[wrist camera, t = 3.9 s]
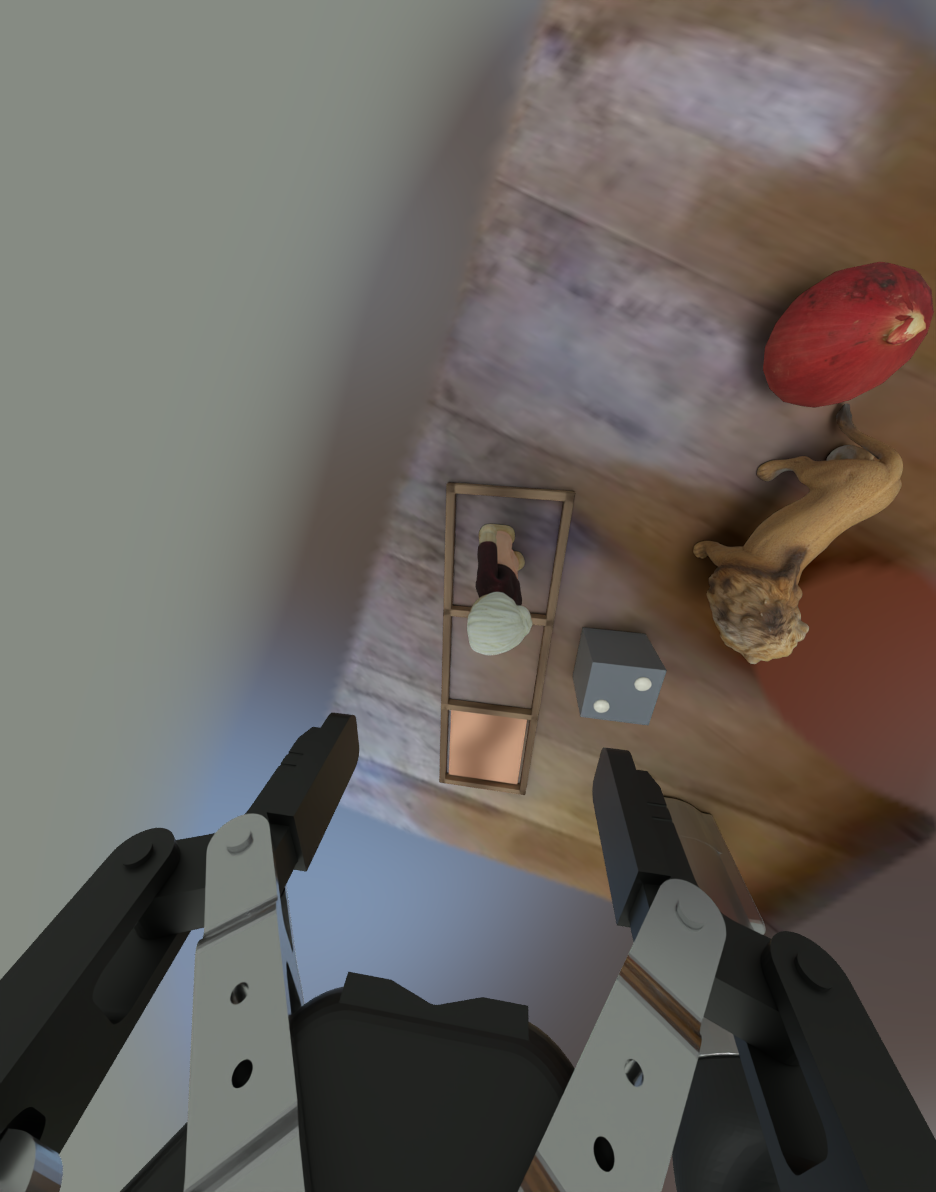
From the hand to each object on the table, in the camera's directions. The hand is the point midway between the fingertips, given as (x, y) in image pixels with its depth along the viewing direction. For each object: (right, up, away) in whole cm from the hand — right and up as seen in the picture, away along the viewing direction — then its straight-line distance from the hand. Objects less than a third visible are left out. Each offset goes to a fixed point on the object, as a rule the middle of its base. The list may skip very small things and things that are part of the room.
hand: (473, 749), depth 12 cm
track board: (+2, -1, +21) cm, 22 cm away
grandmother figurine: (+3, +8, +17) cm, 19 cm away
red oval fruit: (+19, +19, +10) cm, 29 cm away
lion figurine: (+20, +10, +14) cm, 26 cm away
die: (+12, 0, +20) cm, 23 cm away
